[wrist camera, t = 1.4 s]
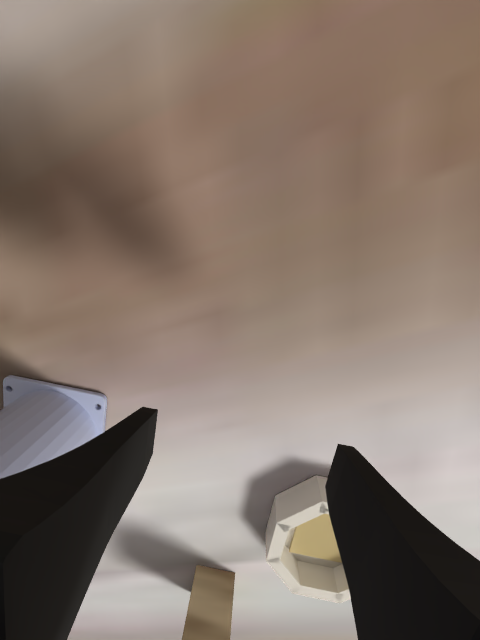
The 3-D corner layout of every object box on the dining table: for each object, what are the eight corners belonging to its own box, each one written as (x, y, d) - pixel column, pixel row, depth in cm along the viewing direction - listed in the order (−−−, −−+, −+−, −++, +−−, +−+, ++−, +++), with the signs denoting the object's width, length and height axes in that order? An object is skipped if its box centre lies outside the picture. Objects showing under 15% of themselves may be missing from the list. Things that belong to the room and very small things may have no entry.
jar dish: (363, 576, 27) (373, 610, 24) (259, 554, 27) (258, 586, 24) (397, 491, 24) (412, 519, 22) (282, 468, 24) (284, 493, 22)
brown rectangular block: (228, 600, 28) (216, 735, 21) (190, 592, 29) (164, 724, 21) (235, 572, 28) (225, 703, 20) (196, 564, 28) (171, 691, 20)
